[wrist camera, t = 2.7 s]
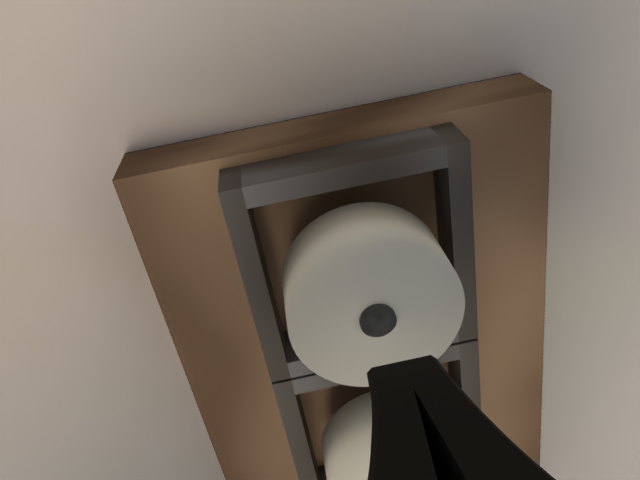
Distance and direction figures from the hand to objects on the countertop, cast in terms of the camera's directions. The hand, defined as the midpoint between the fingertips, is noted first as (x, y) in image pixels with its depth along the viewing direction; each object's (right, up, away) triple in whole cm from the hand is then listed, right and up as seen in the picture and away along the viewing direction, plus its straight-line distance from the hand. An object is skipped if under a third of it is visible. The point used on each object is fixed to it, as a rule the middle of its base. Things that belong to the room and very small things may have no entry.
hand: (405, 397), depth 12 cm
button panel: (0, -2, +10) cm, 11 cm away
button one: (-1, +2, +4) cm, 5 cm away
